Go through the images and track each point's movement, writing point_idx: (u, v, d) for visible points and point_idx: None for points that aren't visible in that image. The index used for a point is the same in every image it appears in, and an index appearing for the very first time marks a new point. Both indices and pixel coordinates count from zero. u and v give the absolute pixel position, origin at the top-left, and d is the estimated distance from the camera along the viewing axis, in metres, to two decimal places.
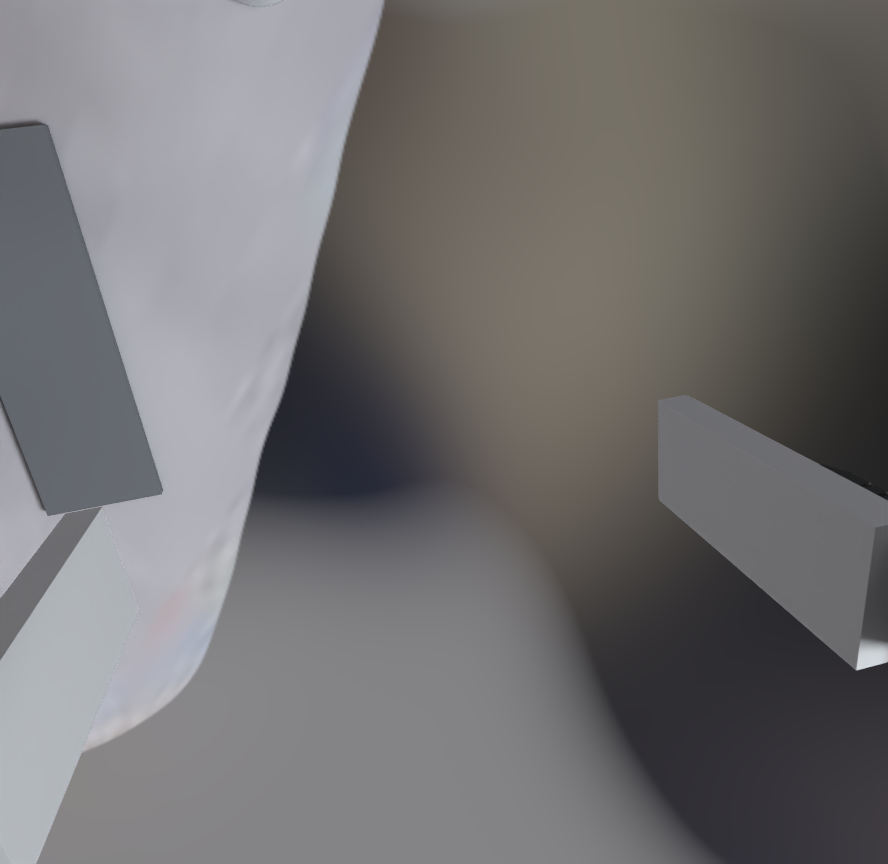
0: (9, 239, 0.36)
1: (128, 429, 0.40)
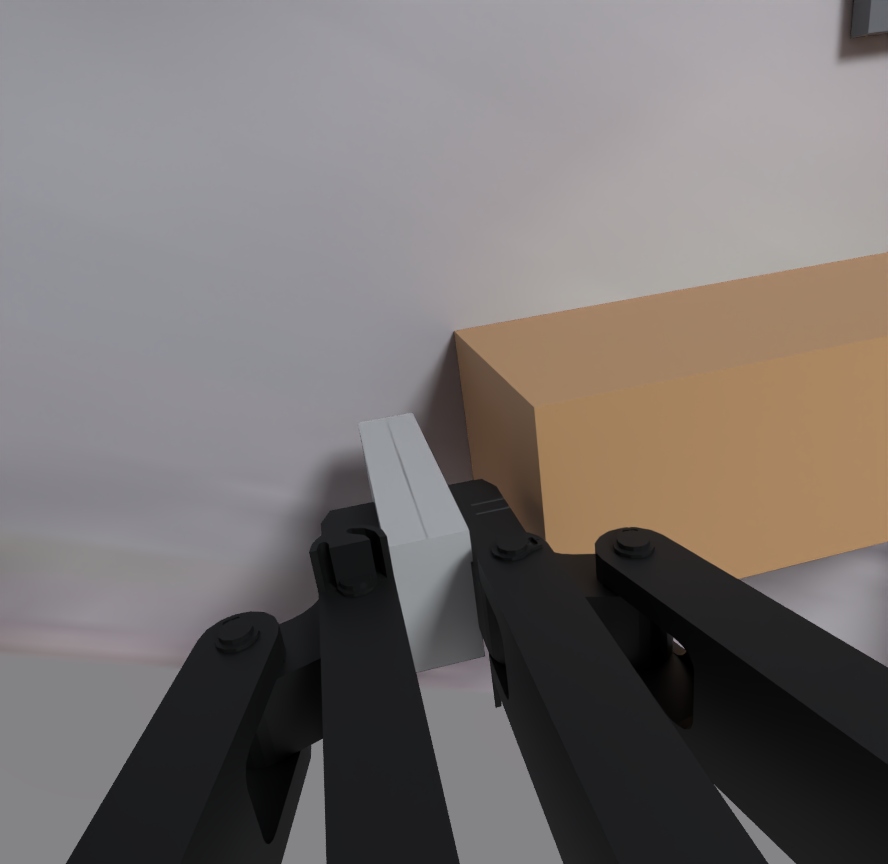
0: None
1: None
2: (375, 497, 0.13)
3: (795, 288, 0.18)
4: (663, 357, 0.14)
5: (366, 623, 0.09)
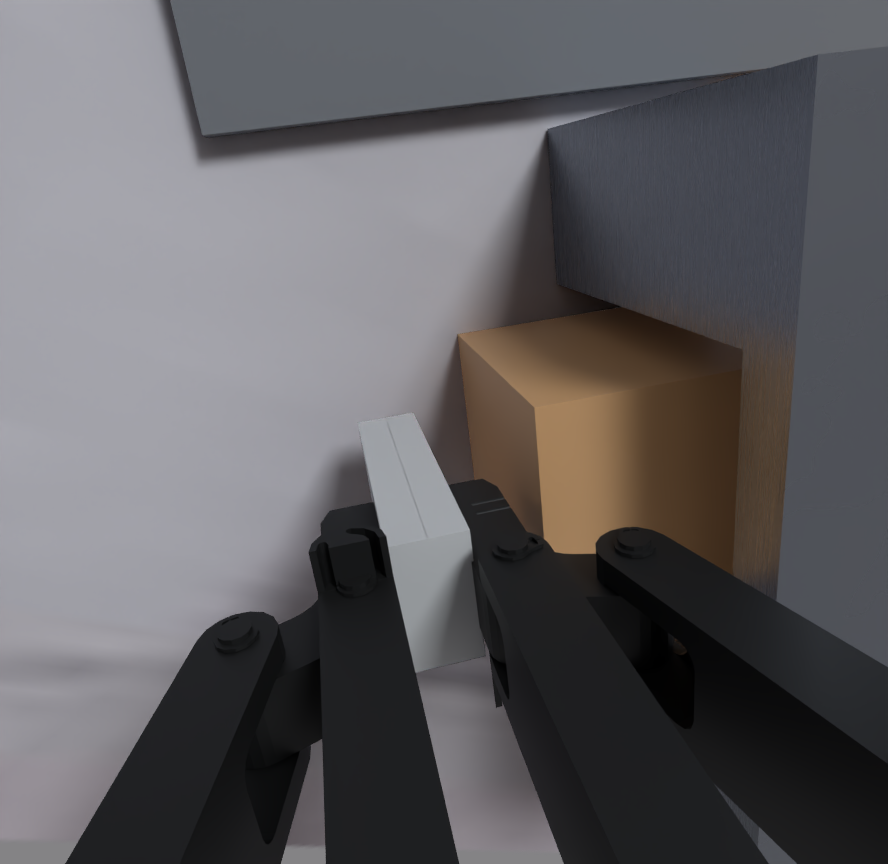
0: None
1: None
2: (374, 497, 0.13)
3: None
4: (663, 360, 0.14)
5: (365, 623, 0.09)
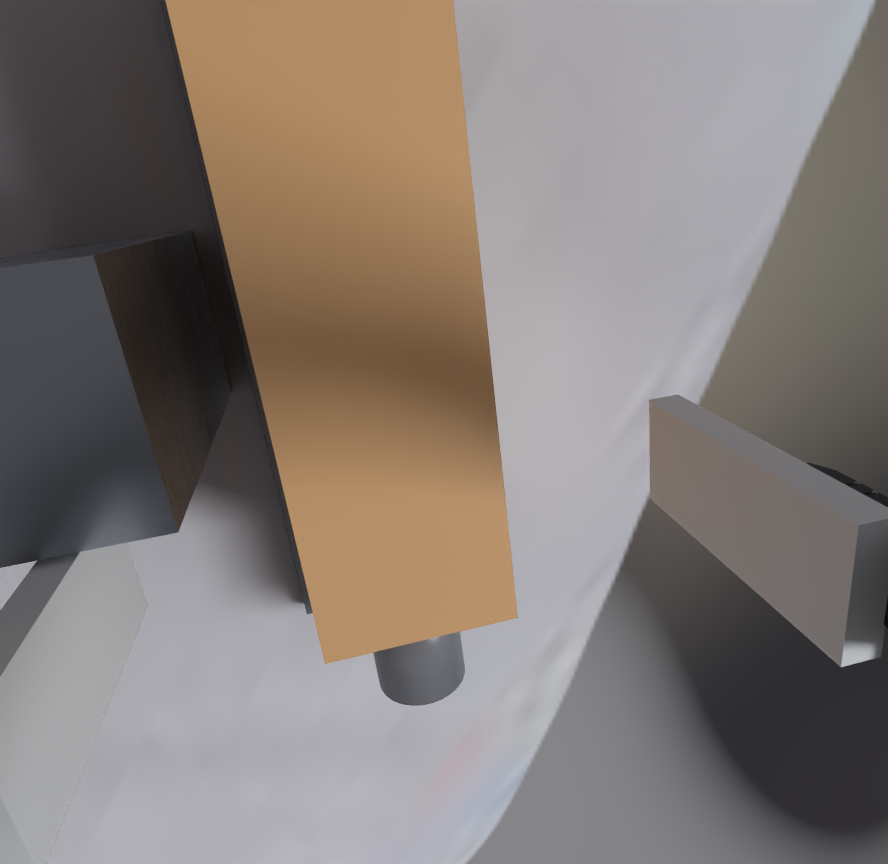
0: None
1: None
2: None
3: None
4: None
5: None
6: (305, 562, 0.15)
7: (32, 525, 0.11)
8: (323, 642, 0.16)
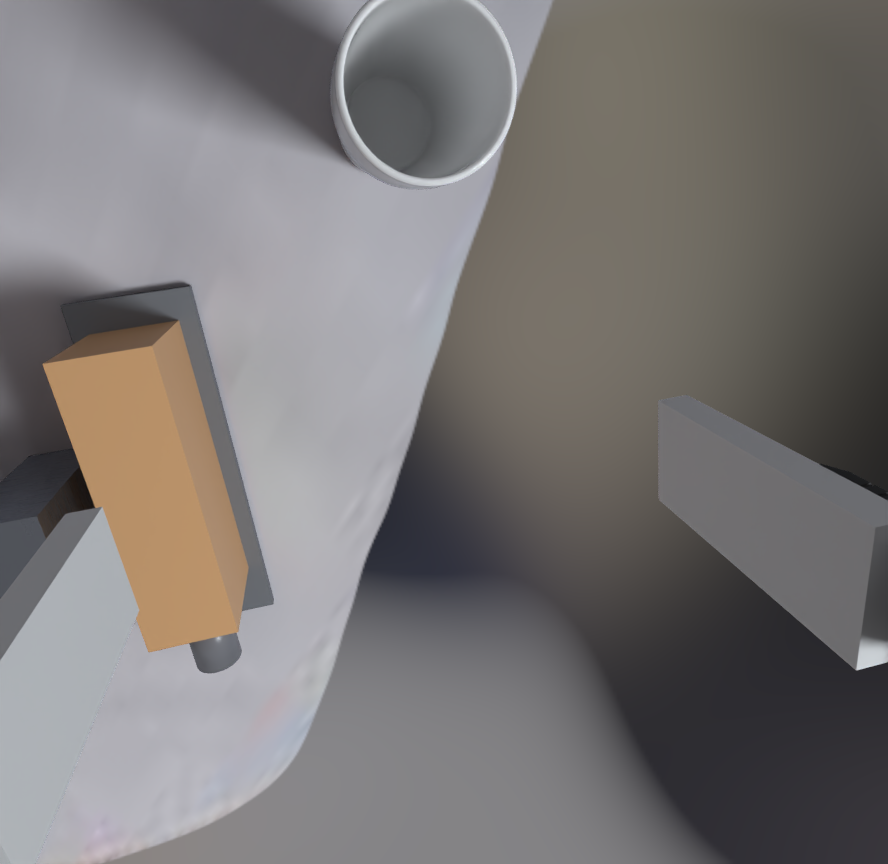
0: None
1: (247, 548, 0.43)
2: None
3: (214, 476, 0.39)
4: (176, 402, 0.34)
5: None
6: None
7: None
8: (146, 643, 0.36)
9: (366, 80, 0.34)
